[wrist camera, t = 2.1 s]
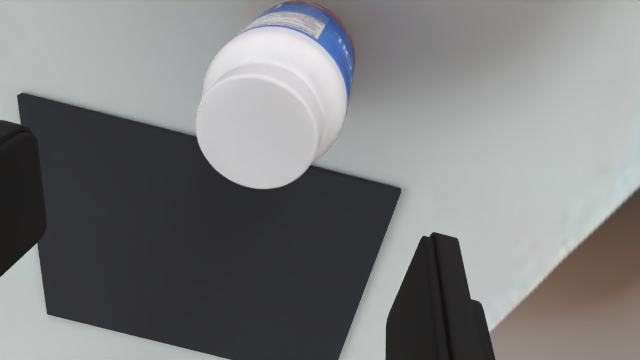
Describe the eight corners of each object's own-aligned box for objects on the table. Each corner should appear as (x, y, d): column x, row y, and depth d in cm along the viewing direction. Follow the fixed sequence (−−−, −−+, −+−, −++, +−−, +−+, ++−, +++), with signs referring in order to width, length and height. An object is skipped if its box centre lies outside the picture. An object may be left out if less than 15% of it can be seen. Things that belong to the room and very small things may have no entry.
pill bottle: (349, 112, 24) (331, 221, 16) (248, 100, 25) (178, 200, 16) (362, 3, 21) (349, 65, 13) (248, -9, 22) (164, 44, 13)
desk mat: (50, 310, 35) (46, 314, 35) (21, 92, 26) (16, 95, 26) (329, 379, 36) (328, 384, 35) (400, 188, 26) (401, 191, 26)
